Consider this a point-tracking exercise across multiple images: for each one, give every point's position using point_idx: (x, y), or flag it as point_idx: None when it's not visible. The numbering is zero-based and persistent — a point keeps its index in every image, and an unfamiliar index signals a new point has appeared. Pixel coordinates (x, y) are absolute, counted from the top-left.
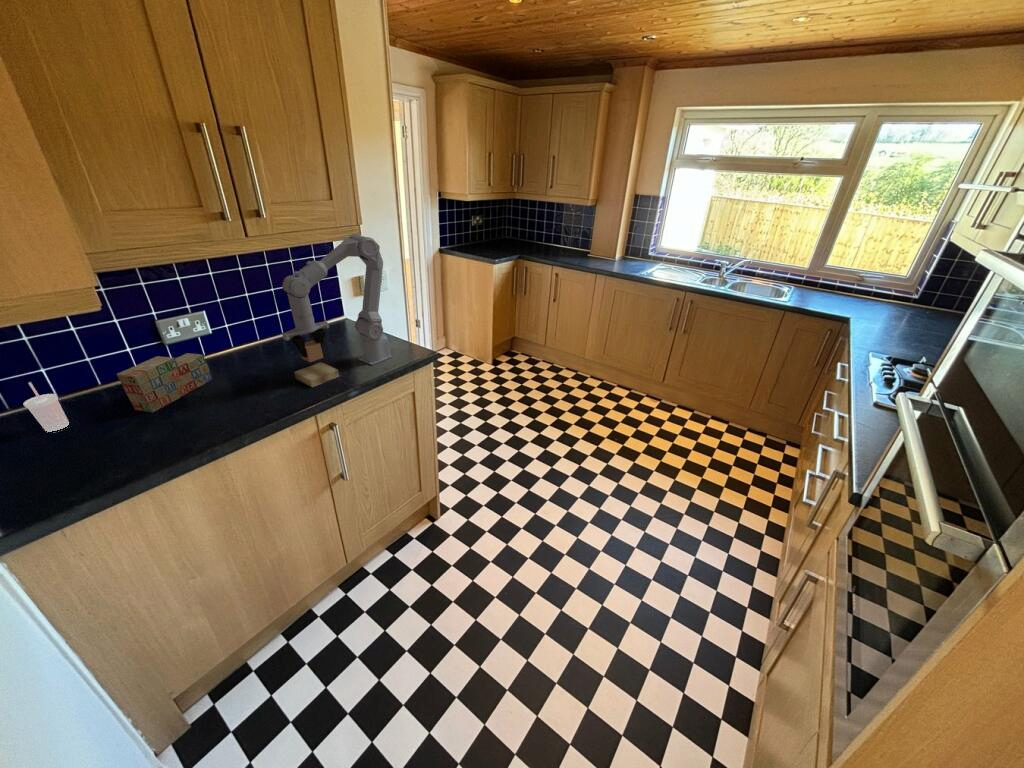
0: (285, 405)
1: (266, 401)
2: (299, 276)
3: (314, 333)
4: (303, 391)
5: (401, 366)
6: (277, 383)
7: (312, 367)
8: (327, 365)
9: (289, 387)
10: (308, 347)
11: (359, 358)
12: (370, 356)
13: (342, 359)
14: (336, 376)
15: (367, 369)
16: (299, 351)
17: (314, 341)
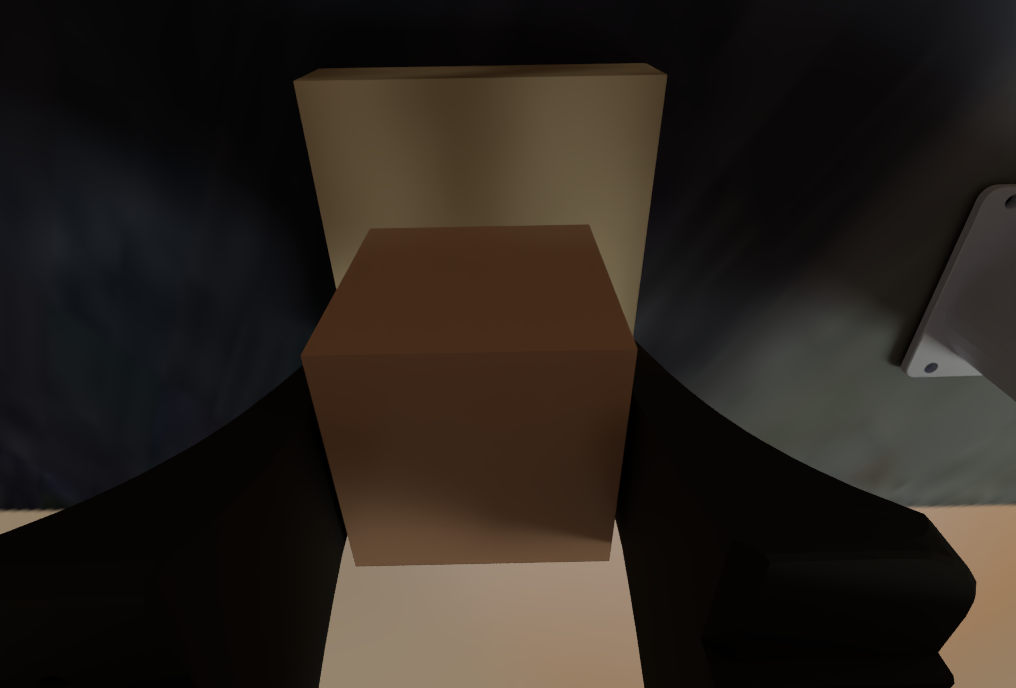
0: (135, 425)
1: (4, 290)
2: None
3: (686, 637)
4: (292, 349)
5: (951, 504)
6: (119, 14)
7: (505, 140)
8: (637, 224)
9: (214, 206)
10: (395, 560)
11: (997, 196)
12: (990, 373)
13: (944, 10)
14: None
15: (819, 391)
16: (298, 369)
17: (620, 431)
